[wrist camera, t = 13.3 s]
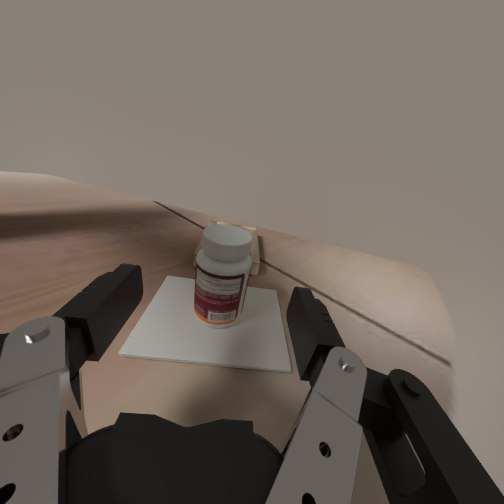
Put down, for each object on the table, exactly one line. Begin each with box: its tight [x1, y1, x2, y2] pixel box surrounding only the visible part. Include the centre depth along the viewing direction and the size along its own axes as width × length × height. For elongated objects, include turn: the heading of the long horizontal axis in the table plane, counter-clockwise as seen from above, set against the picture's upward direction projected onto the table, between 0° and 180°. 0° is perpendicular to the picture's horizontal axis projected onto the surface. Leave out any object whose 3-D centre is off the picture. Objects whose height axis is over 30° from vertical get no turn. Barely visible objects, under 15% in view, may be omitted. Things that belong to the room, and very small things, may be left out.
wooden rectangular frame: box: [193, 221, 260, 276], centre depth 32 cm, size 9×13×2 cm, turn 1°
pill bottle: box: [194, 225, 252, 328], centre depth 18 cm, size 5×5×8 cm
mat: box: [118, 276, 292, 373], centre depth 20 cm, size 13×10×1 cm
